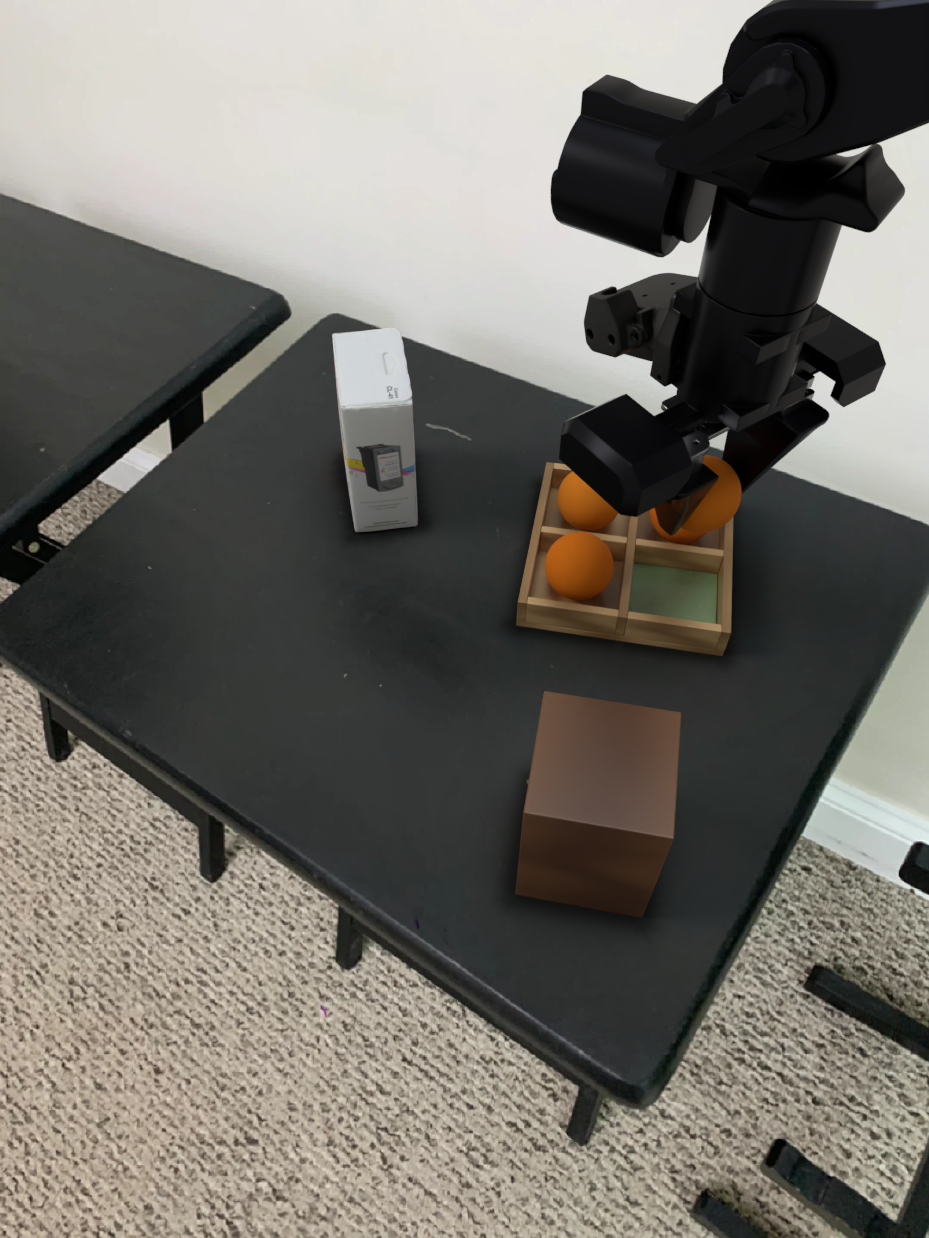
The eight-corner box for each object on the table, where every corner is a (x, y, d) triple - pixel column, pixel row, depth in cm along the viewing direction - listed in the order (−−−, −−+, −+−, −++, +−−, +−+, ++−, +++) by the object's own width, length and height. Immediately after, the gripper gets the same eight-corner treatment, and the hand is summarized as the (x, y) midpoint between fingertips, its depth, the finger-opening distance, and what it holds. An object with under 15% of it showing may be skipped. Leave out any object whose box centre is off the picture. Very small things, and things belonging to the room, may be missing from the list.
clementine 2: (612, 568, 65) (620, 522, 61) (605, 618, 62) (614, 573, 59) (547, 559, 66) (552, 513, 62) (538, 608, 63) (542, 563, 59)
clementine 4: (732, 500, 58) (749, 443, 54) (731, 553, 55) (749, 497, 52) (658, 490, 59) (671, 434, 55) (653, 543, 56) (666, 487, 52)
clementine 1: (620, 503, 69) (628, 456, 65) (614, 547, 66) (623, 501, 63) (559, 495, 70) (564, 448, 66) (551, 539, 67) (555, 493, 63)
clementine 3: (710, 515, 68) (723, 468, 65) (708, 560, 65) (721, 514, 62) (647, 506, 69) (657, 460, 65) (642, 551, 66) (652, 505, 62)
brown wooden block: (651, 803, 54) (681, 711, 47) (642, 918, 50) (674, 838, 42) (533, 783, 55) (543, 690, 47) (515, 894, 51) (523, 812, 43)
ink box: (344, 458, 73) (326, 329, 64) (407, 451, 74) (399, 322, 64) (354, 537, 68) (335, 409, 59) (422, 529, 68) (414, 400, 59)
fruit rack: (726, 510, 69) (734, 485, 67) (722, 656, 61) (731, 633, 59) (544, 487, 71) (546, 461, 69) (516, 626, 63) (517, 601, 61)
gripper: (774, 163, 52) (716, 391, 64) (501, 267, 45) (495, 498, 57) (939, 251, 46) (840, 483, 58) (653, 385, 39) (610, 614, 52)
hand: (696, 514), depth 56 cm, fingers closed on clementine 4, 4 cm apart
